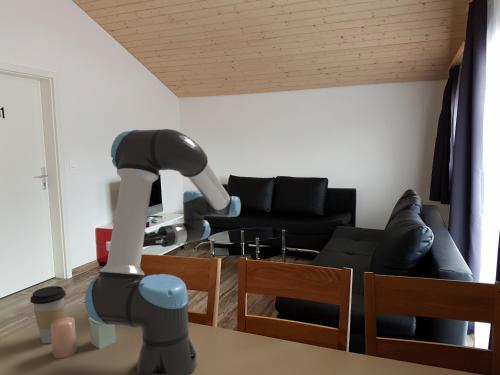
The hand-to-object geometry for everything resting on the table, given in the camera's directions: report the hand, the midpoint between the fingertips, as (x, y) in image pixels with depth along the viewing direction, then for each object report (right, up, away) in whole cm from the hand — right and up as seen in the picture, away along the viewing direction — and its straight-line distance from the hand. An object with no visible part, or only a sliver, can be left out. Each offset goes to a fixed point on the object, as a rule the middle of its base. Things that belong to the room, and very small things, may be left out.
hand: (107, 246), depth 122 cm
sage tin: (+4, -26, -12) cm, 29 cm away
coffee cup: (-13, -27, -9) cm, 31 cm away
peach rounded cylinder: (-5, -27, -17) cm, 32 cm away
